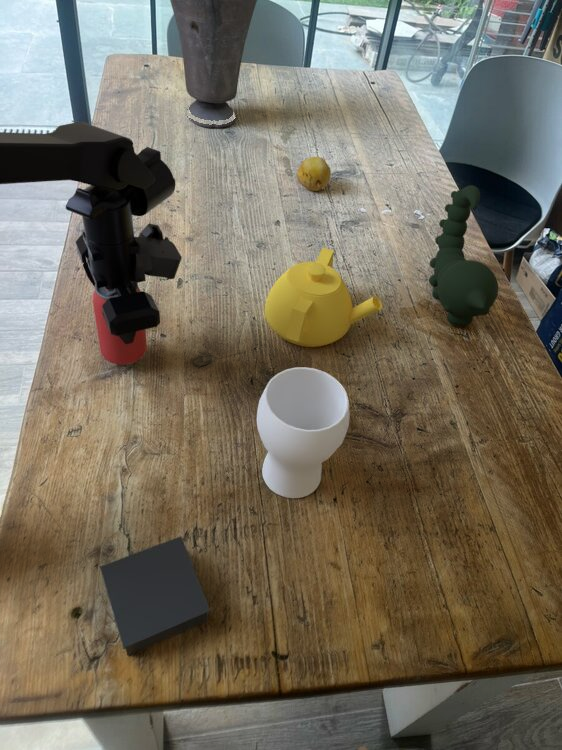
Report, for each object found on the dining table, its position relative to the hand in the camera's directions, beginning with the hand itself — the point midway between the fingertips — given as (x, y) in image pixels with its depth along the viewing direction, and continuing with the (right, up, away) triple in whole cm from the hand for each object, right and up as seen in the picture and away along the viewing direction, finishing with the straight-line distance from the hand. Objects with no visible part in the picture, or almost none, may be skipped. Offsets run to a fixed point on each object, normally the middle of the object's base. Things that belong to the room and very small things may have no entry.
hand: (122, 327), depth 82 cm
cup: (+24, -20, -6) cm, 32 cm away
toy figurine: (+53, +7, +22) cm, 58 cm away
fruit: (+29, +34, +44) cm, 63 cm away
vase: (+5, +58, +63) cm, 86 cm away
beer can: (-1, -3, +3) cm, 5 cm away
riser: (+9, -31, -19) cm, 38 cm away
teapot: (+29, +1, +14) cm, 32 cm away
